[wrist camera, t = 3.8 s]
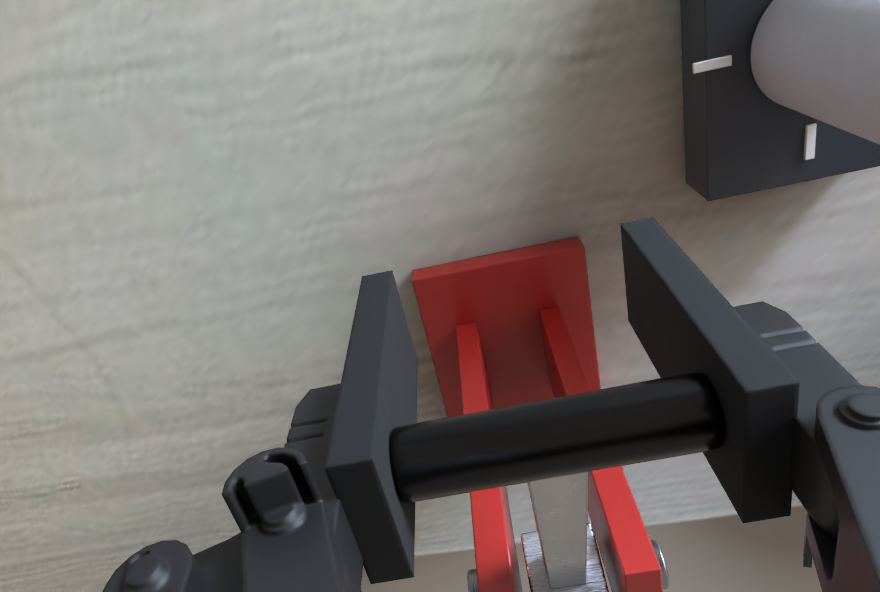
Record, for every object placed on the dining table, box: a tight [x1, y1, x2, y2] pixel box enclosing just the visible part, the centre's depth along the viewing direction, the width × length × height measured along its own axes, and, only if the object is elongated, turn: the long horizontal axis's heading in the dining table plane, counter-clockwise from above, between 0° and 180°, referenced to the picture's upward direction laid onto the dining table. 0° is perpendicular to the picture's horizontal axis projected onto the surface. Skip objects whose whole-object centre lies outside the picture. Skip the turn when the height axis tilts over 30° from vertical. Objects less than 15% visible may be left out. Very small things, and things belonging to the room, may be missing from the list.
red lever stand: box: [412, 237, 669, 592], centre depth 25 cm, size 10×8×16 cm
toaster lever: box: [389, 372, 725, 592], centre depth 16 cm, size 13×6×2 cm, turn 12°
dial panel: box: [681, 0, 880, 201], centre depth 24 cm, size 11×9×3 cm
